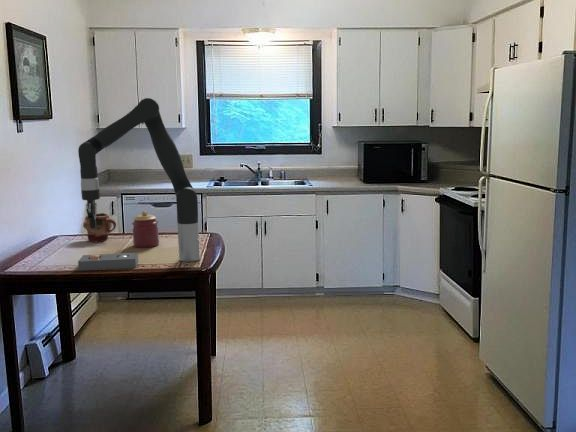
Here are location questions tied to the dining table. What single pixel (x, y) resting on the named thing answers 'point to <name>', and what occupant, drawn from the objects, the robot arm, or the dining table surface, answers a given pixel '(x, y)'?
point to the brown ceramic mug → (99, 228)
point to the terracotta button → (94, 257)
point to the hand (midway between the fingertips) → (93, 227)
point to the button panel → (108, 261)
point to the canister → (145, 231)
